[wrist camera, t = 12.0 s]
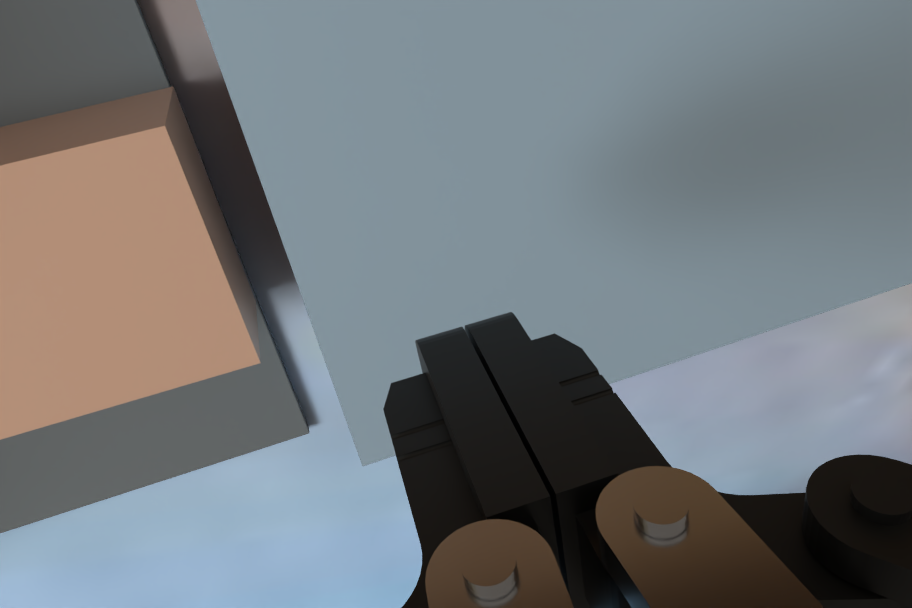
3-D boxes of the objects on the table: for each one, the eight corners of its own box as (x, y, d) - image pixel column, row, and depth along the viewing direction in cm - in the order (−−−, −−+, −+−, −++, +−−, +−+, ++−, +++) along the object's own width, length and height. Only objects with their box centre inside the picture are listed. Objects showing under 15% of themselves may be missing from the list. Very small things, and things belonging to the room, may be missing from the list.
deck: (1000, -322, 17) (1186, -367, 14) (897, 202, 25) (1000, 253, 21) (159, -148, 14) (141, -152, 11) (341, 377, 22) (362, 466, 19)
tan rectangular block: (173, 86, 16) (164, 125, 14) (255, 300, 20) (260, 363, 17) (-255, 187, 15) (-348, 249, 13) (-90, 397, 18) (-137, 480, 16)
